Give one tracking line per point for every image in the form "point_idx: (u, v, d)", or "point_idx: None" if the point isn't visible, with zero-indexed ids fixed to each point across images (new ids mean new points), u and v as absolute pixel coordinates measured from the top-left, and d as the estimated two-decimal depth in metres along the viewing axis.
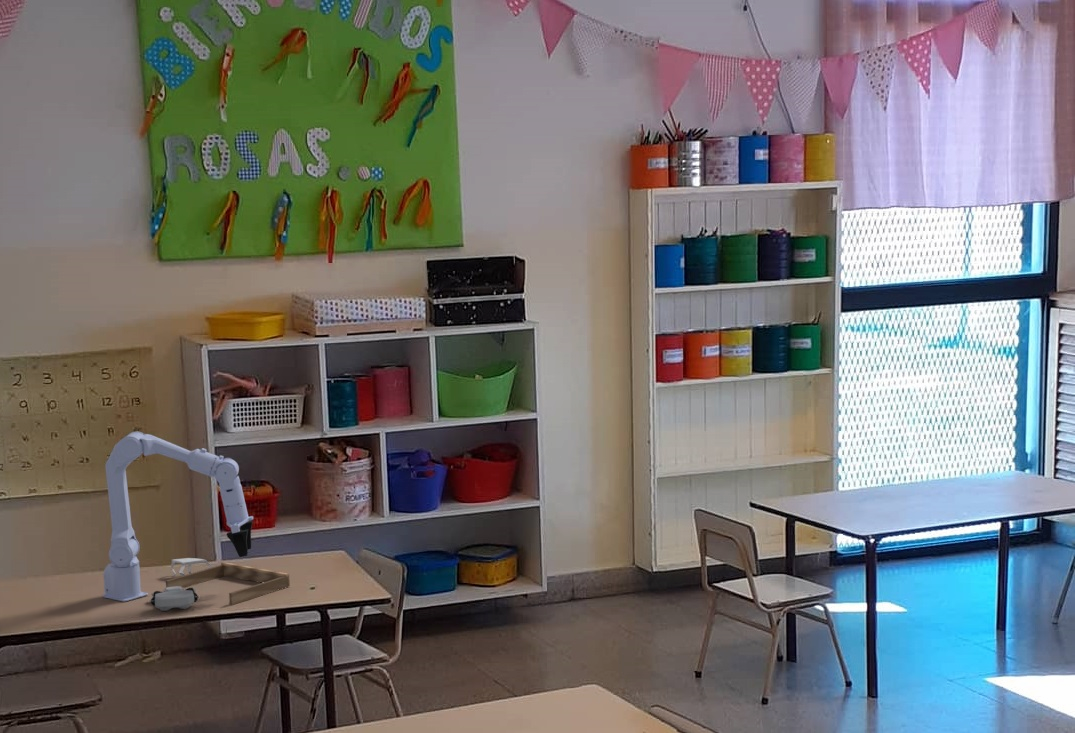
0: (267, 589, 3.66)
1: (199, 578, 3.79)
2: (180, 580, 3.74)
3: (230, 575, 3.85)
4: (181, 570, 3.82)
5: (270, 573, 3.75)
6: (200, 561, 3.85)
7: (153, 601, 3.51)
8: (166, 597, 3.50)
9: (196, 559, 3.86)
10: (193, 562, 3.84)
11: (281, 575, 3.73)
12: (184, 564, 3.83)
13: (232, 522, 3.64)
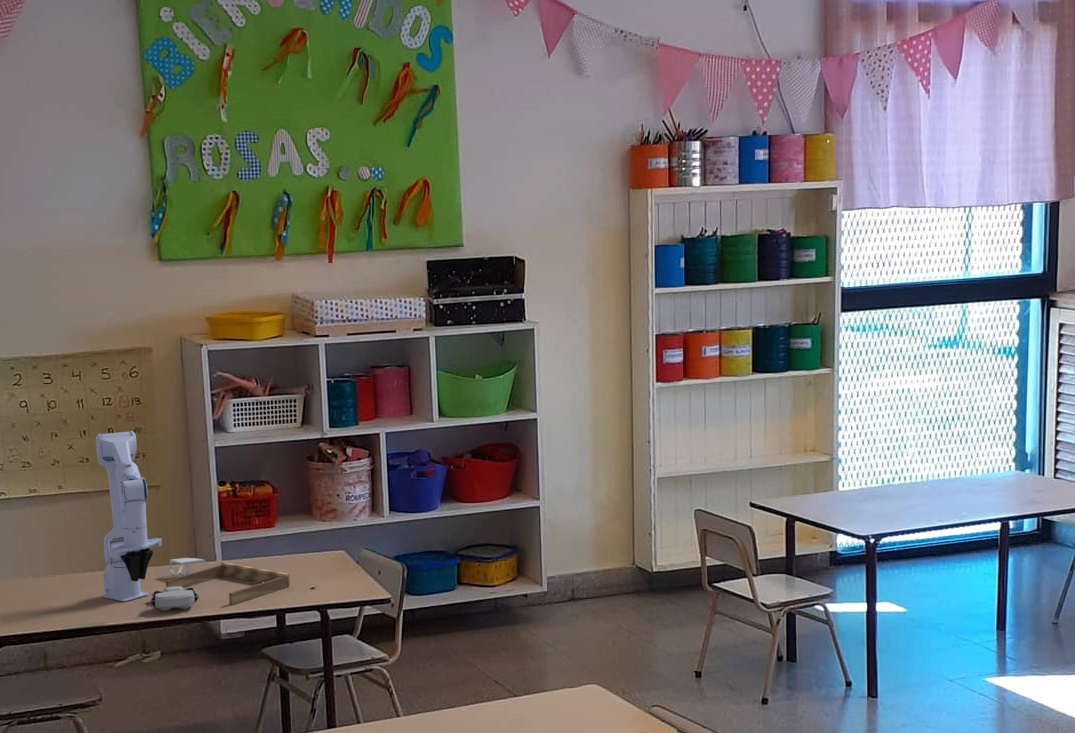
0: (267, 589, 3.66)
1: (199, 578, 3.79)
2: (180, 580, 3.74)
3: (230, 575, 3.85)
4: (180, 570, 3.82)
5: (270, 573, 3.75)
6: (198, 561, 3.85)
7: (153, 601, 3.51)
8: (166, 597, 3.50)
9: (194, 559, 3.86)
10: (191, 562, 3.84)
11: (281, 575, 3.73)
12: (182, 564, 3.83)
13: (124, 545, 3.45)
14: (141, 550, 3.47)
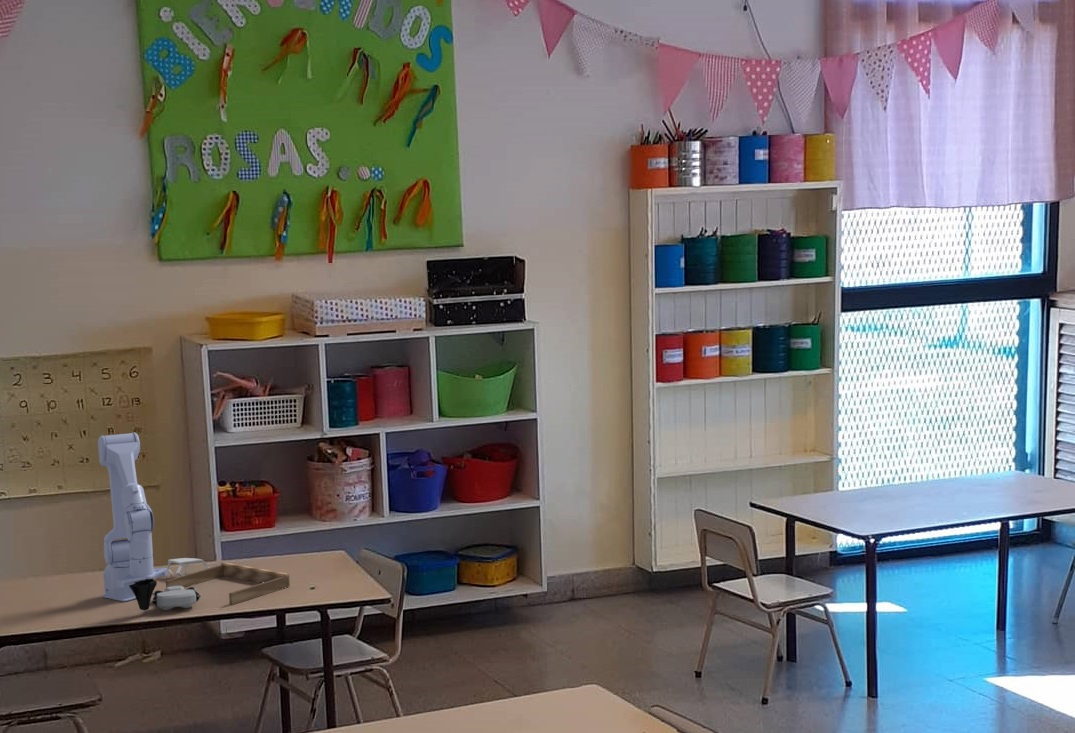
0: (267, 589, 3.66)
1: (199, 578, 3.79)
2: (180, 580, 3.74)
3: (230, 575, 3.85)
4: (178, 570, 3.82)
5: (270, 573, 3.75)
6: (197, 561, 3.85)
7: (155, 600, 3.51)
8: (168, 596, 3.50)
9: (193, 559, 3.87)
10: (190, 562, 3.85)
11: (281, 575, 3.73)
12: (181, 564, 3.83)
13: (130, 575, 3.47)
14: None
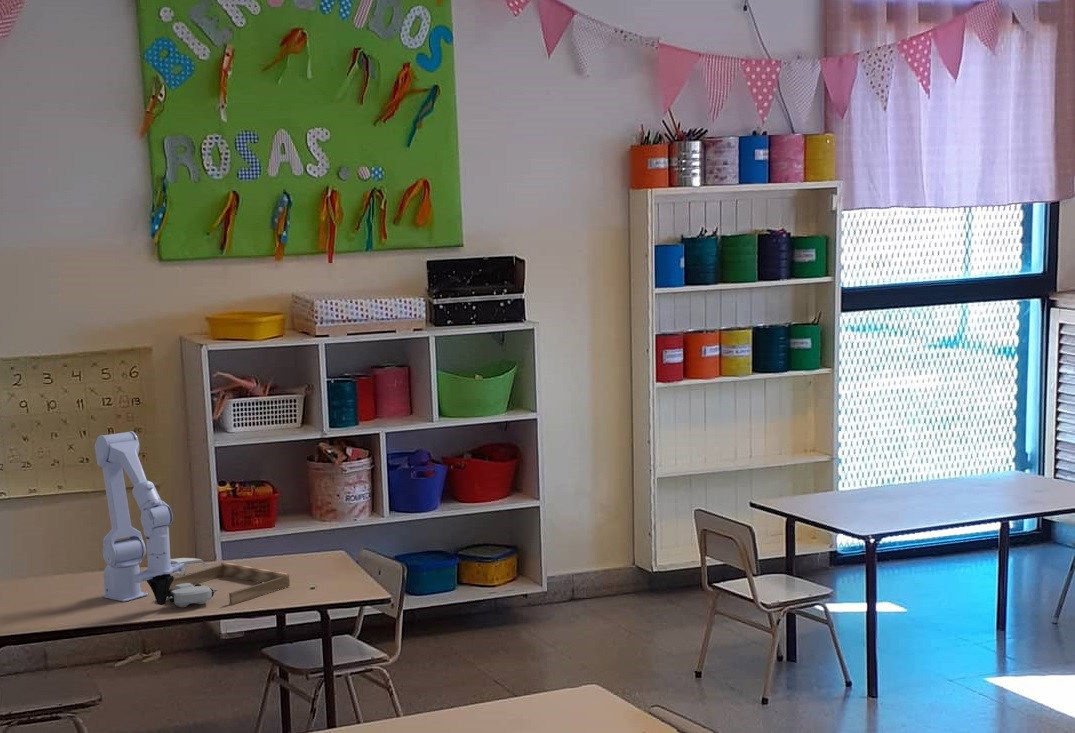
0: (267, 589, 3.66)
1: (199, 578, 3.79)
2: (180, 580, 3.74)
3: (230, 575, 3.85)
4: None
5: (270, 573, 3.75)
6: (196, 561, 3.86)
7: (172, 598, 3.53)
8: (186, 593, 3.53)
9: (192, 559, 3.87)
10: (189, 562, 3.85)
11: (281, 575, 3.73)
12: None
13: (148, 570, 3.51)
14: (164, 574, 3.54)
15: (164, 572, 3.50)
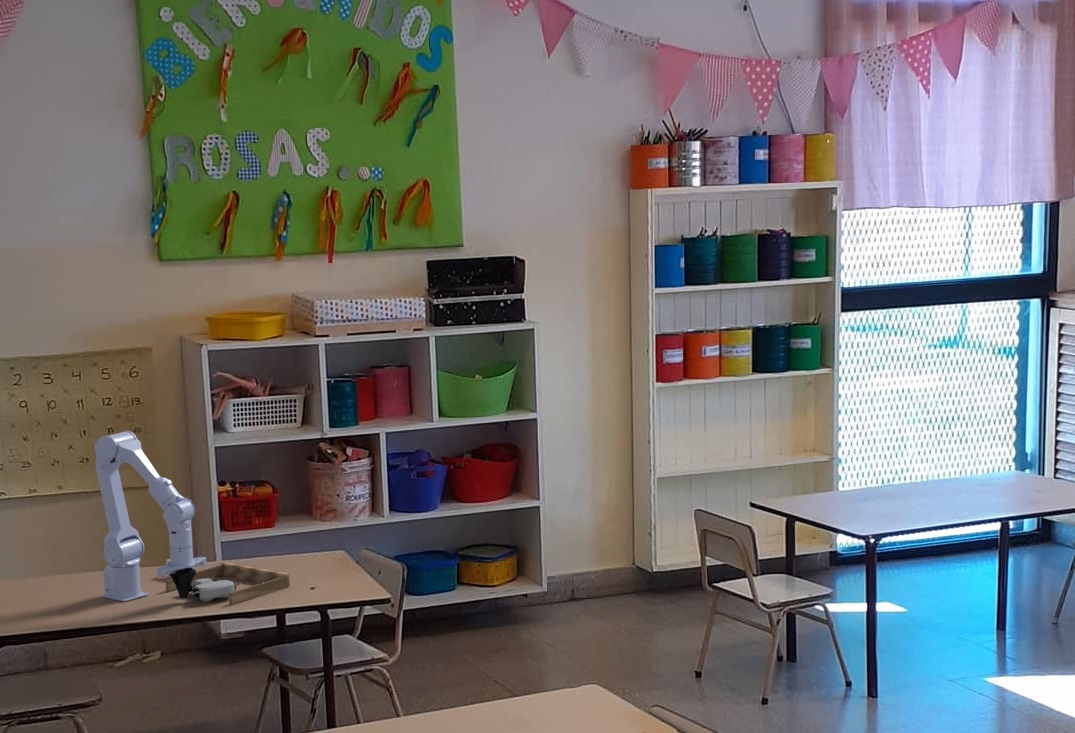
0: (267, 589, 3.66)
1: (199, 578, 3.79)
2: None
3: (230, 575, 3.85)
4: None
5: (270, 573, 3.75)
6: None
7: (198, 593, 3.57)
8: (212, 587, 3.58)
9: None
10: None
11: (281, 575, 3.73)
12: None
13: (171, 564, 3.57)
14: None
15: (187, 566, 3.56)
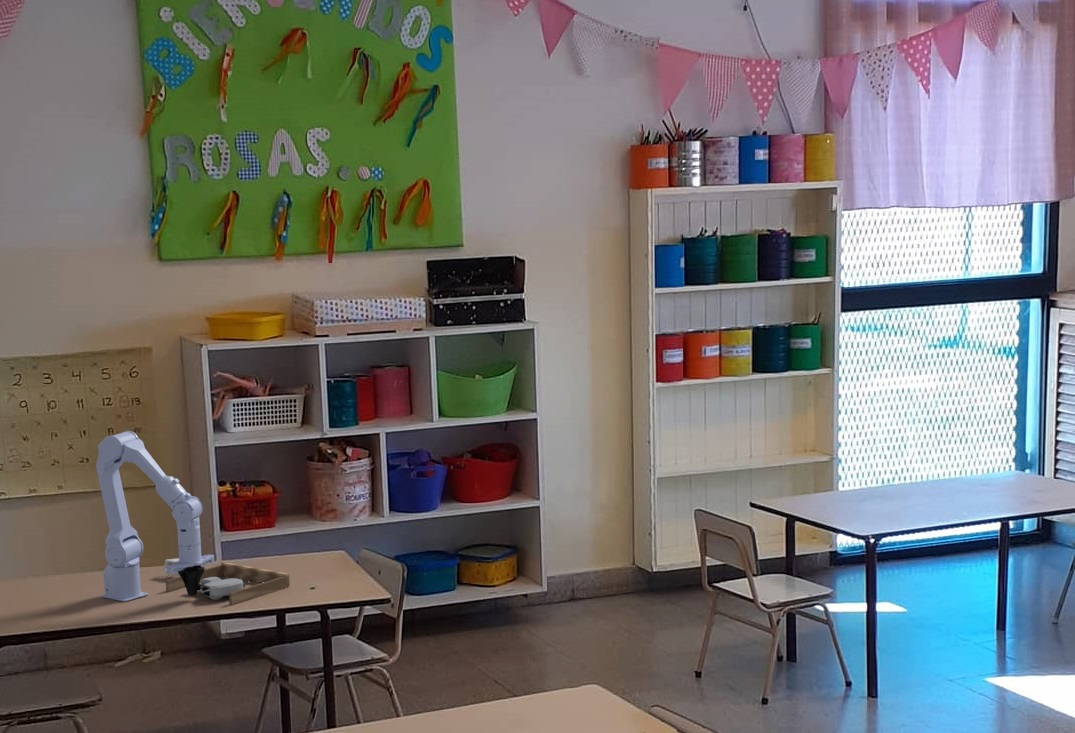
0: (267, 589, 3.66)
1: None
2: (180, 580, 3.74)
3: (230, 575, 3.85)
4: None
5: (270, 573, 3.75)
6: None
7: (208, 591, 3.59)
8: (222, 585, 3.60)
9: None
10: None
11: (281, 575, 3.73)
12: None
13: (179, 561, 3.59)
14: (195, 566, 3.62)
15: (195, 563, 3.58)
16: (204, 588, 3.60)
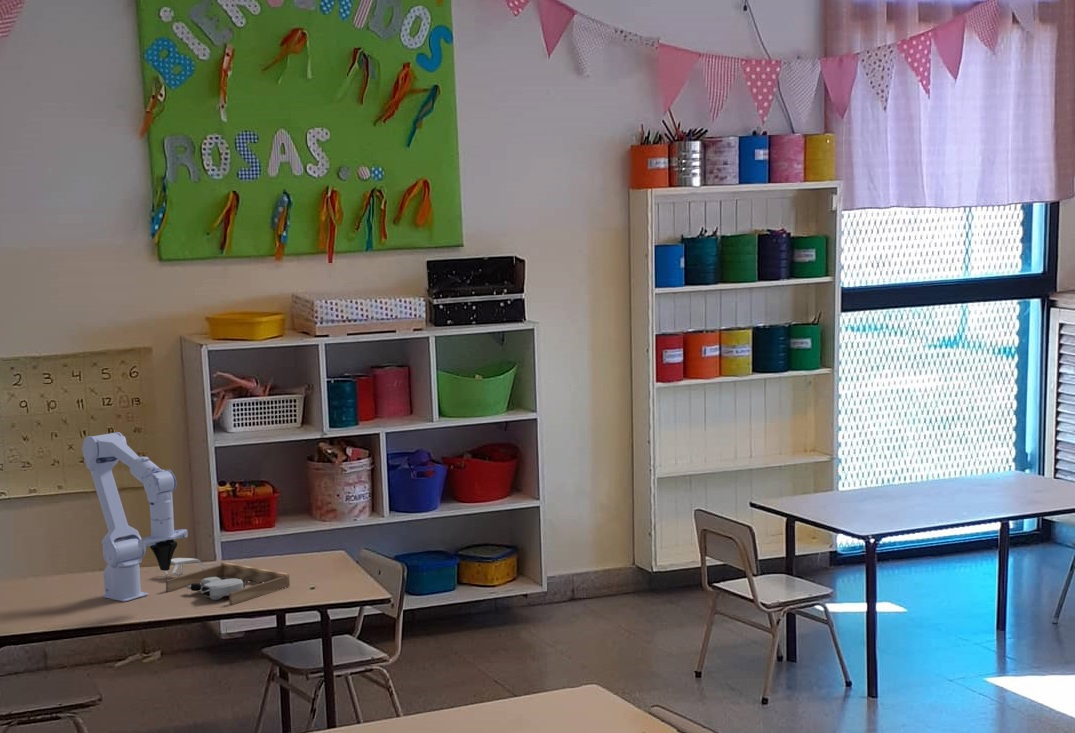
0: (267, 589, 3.66)
1: (199, 578, 3.79)
2: (180, 580, 3.74)
3: (230, 575, 3.85)
4: (174, 570, 3.82)
5: (270, 573, 3.75)
6: (193, 561, 3.86)
7: (208, 591, 3.59)
8: (222, 585, 3.60)
9: (188, 559, 3.87)
10: (186, 562, 3.85)
11: (281, 575, 3.73)
12: (177, 564, 3.84)
13: (151, 536, 3.52)
14: None
15: (168, 538, 3.51)
16: (204, 588, 3.60)
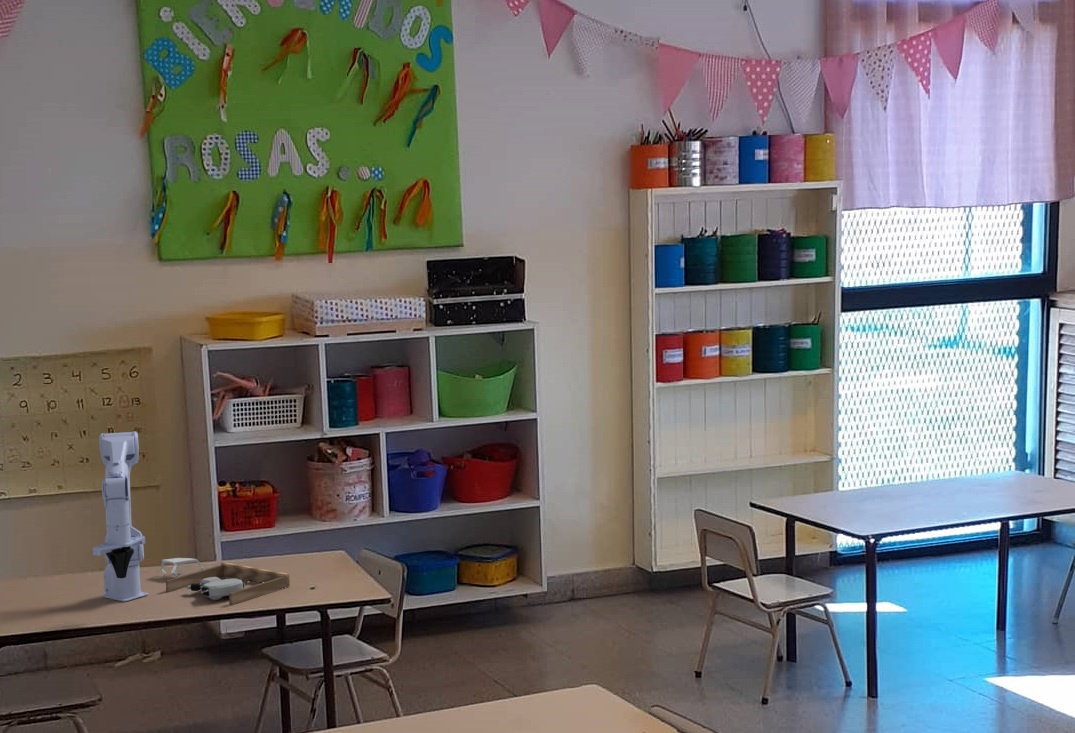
0: (267, 589, 3.66)
1: (199, 578, 3.79)
2: (180, 580, 3.74)
3: (230, 575, 3.85)
4: (173, 570, 3.82)
5: (270, 573, 3.75)
6: (191, 561, 3.86)
7: (207, 591, 3.59)
8: (221, 586, 3.60)
9: (187, 559, 3.87)
10: (184, 562, 3.85)
11: (281, 575, 3.73)
12: (176, 564, 3.84)
13: (107, 543, 3.45)
14: None
15: (124, 545, 3.44)
16: (203, 588, 3.60)
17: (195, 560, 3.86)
